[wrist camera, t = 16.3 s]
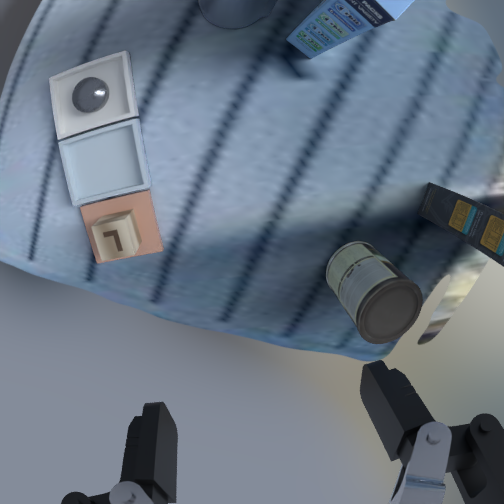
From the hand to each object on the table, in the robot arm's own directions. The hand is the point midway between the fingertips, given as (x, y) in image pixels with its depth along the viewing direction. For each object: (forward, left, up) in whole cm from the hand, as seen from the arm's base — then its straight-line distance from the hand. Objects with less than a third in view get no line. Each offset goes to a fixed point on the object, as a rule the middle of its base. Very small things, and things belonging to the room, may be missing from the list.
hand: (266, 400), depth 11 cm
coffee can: (-19, +16, -36) cm, 44 cm away
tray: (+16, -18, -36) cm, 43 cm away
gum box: (-20, -26, -36) cm, 49 cm away
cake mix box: (-43, +10, -36) cm, 57 cm away
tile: (+16, +2, -36) cm, 40 cm away
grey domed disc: (+16, -18, -36) cm, 43 cm away
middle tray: (+16, -8, -36) cm, 40 cm away
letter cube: (+16, +2, -35) cm, 39 cm away
